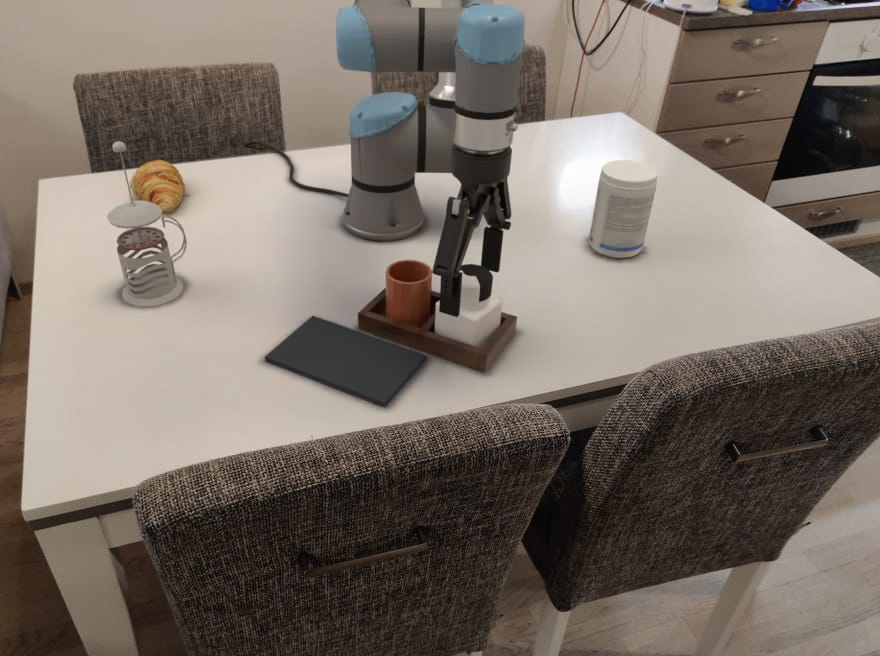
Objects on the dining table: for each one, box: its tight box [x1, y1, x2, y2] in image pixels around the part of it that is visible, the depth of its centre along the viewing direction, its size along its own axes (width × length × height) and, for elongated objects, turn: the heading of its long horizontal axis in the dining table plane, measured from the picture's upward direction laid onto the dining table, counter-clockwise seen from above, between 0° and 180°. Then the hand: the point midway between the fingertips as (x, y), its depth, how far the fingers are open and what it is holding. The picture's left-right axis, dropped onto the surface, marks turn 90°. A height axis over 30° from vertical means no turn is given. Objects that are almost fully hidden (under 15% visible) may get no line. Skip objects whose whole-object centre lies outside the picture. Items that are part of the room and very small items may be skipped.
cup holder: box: [357, 286, 518, 373], centre depth 110 cm, size 21×11×3 cm, turn 61°
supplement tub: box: [588, 159, 659, 259], centre depth 127 cm, size 10×10×15 cm
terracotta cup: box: [385, 259, 433, 328], centre depth 110 cm, size 7×7×9 cm
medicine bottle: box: [434, 263, 504, 349], centre depth 105 cm, size 7×7×12 cm
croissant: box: [129, 158, 186, 213], centre depth 145 cm, size 21×10×8 cm, turn 26°
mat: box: [264, 315, 428, 408], centre depth 104 cm, size 20×12×1 cm, turn 61°
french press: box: [106, 140, 188, 308], centre depth 111 cm, size 10×12×25 cm
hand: (470, 290), depth 103 cm, fingers open, 13 cm apart
